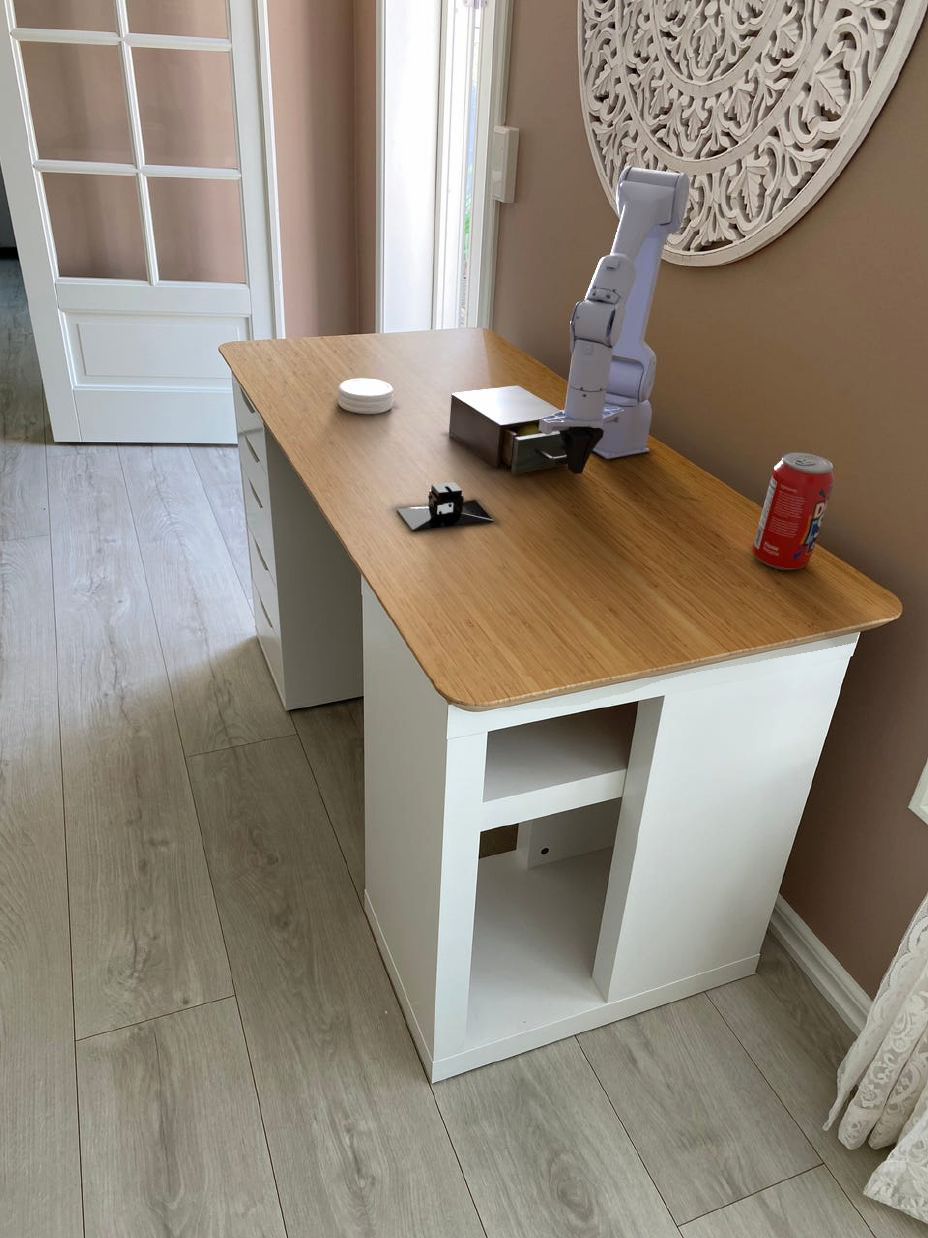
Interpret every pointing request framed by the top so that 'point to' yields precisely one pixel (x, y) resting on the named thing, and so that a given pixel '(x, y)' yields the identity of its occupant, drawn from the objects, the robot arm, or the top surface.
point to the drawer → (532, 451)
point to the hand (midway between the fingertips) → (574, 471)
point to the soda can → (793, 510)
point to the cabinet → (493, 418)
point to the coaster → (365, 396)
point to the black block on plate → (444, 510)
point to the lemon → (526, 430)
